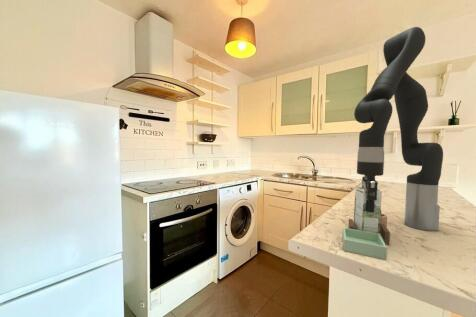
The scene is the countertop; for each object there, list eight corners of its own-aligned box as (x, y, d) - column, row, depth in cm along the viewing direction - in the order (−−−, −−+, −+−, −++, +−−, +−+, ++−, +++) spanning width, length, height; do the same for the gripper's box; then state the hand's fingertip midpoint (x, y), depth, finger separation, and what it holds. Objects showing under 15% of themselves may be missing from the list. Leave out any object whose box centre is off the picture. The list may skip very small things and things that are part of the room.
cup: (383, 228, 76) (384, 213, 76) (387, 234, 70) (388, 217, 70) (365, 225, 78) (366, 210, 78) (367, 231, 73) (368, 215, 73)
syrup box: (369, 227, 71) (371, 186, 70) (380, 234, 65) (382, 190, 64) (353, 226, 71) (354, 186, 71) (361, 233, 65) (363, 189, 65)
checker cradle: (383, 235, 69) (384, 223, 69) (389, 245, 62) (389, 232, 62) (348, 229, 74) (348, 218, 74) (349, 238, 67) (350, 226, 67)
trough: (378, 244, 63) (379, 233, 63) (386, 259, 54) (387, 247, 54) (342, 237, 67) (342, 227, 67) (343, 250, 58) (344, 239, 58)
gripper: (389, 162, 59) (386, 217, 60) (379, 160, 72) (377, 205, 73) (359, 161, 62) (357, 213, 63) (355, 159, 75) (353, 202, 76)
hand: (368, 208), depth 68 cm, fingers closed on syrup box, 7 cm apart
